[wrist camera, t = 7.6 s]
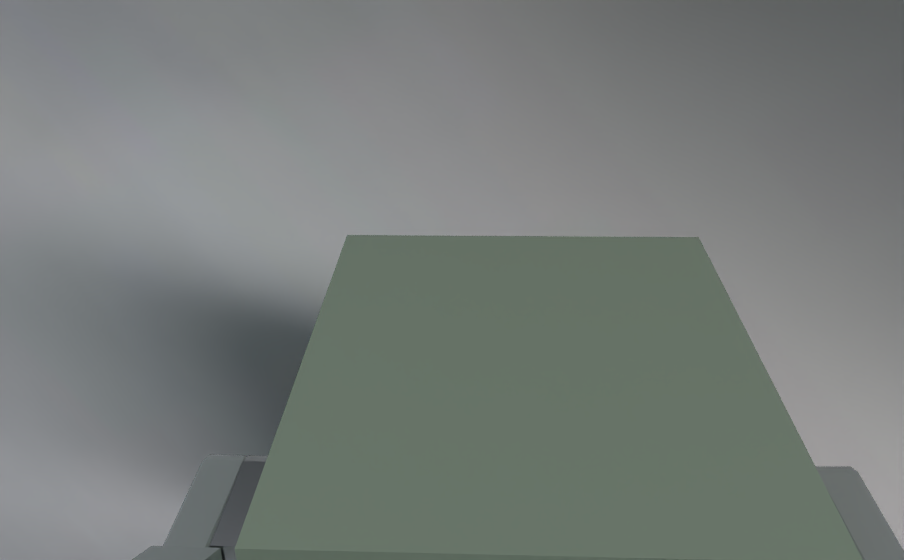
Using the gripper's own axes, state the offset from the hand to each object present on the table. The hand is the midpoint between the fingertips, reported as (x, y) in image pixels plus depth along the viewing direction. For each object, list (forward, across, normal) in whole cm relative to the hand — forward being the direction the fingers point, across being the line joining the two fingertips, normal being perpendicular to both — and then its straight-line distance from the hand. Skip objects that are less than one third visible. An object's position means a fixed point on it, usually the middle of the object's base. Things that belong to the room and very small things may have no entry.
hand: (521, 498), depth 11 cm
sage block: (+3, 0, 0) cm, 3 cm away
